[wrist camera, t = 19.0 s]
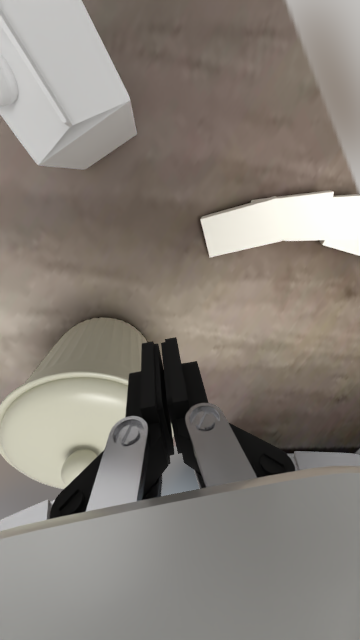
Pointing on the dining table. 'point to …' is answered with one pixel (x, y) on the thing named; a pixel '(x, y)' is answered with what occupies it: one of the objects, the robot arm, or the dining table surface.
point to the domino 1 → (242, 227)
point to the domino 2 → (304, 215)
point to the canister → (71, 401)
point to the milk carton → (60, 84)
